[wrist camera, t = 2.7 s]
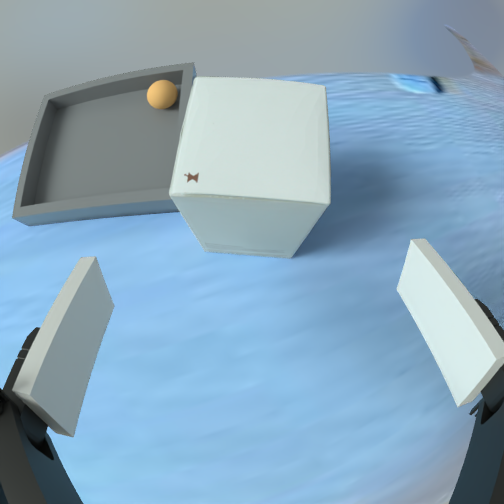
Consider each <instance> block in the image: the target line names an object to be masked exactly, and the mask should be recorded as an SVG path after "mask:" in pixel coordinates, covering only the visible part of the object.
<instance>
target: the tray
mask: <svg viewBox="0 0 504 504" xmlns="http://www.w3.org/2000/svg"><path fill="white" fill-rule="evenodd" d="M196 77H197V76H196V71H195V66H194V63H185V64H177V65H169V66H162V67H156V68H150V69H144V70H138V71H133V72H128V73H123V74H119V75H114V76H110V77H105V78H102V79H97V80H94V81H90V82H86V83H82V84H79V85H75V86H72V87H69V88H65V89H62V90H59V91H56V92H53V93H50V94H47V95H45V96H44V98H43V101H42V104H41V106H40V109H39V112H38V115H37V118H36V121H35V124H34V127H33V130H32V133H31V136H30V140H29V143H28V147H27V150H26V154H25V158H24V162H23V166H22V170H21V174H20V179H19V183H18V188H17V193H16V198H15V204H14V210H13V216H12V218H13V219H15V220H17V221H19V222H21V223H23V224H25V225H27V226H36V225H44V224H52V223H61V222H70V221H79V220H89V219H99V218H109V217H120V216H132V215H144V214H157V213H170V212H180V211H179V210H178V208H177V207H176V205H175V203H174V202H173V200H172V199H171V197H170V195H169V190H170V185H171V181H172V176H173V170H174V165H175V160H176V155H177V150H178V145H179V141H180V133H181V129H182V126H183V122H184V118H185V114H186V109H187V105H188V101H189V97H190V93H191V89H192V85H193V81H194V79H195V78H196ZM159 80H168V81H170V82H172V83H173V84H174V85H175V86H176V88H177V92H178V95H177V99H176V101H175V103H174V104H173V105H172V106H170V107H169V108H166V109H156V108H154V107H152V106H151V105H150V104H149V102H148V100H147V92H148V89H149V87H150V86H151V85H152V84H153V83H155V82H156V81H159Z"/></svg>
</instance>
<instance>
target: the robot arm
mask: <svg viewBox="0 0 504 504" xmlns="http://www.w3.org/2000/svg"><path fill="white" fill-rule="evenodd" d="M397 291H398V292H399V294H400V296H401V298H402V299H403V301H404V303H405V304H406V306H407V308H408V310H409V311H410V313H411V315H412V317H413V319H414V320H415V322H416V324H417V326H418V328H419V329H420V331H421V333H422V335H423V337H424V339H425V341H426V343H427V344H428V346H429V348H430V350H431V352H432V354H433V356H434V358H435V360H436V362H437V364H438V366H439V368H440V370H441V372H442V374H443V376H444V378H445V381H446V383H447V385H448V387H449V389H450V391H451V393H452V396H453V398H454V400H455V402H456V405H457V407H459V406H462V405H464V404H467V403H469V402H472V401H473V400H474V399H475V398H476V397H477V395H478V394H479V393H480V392H481V394H482V396H483V398H482V399H481V400H480V401H479V402H478V403H477V405H476V406H475V407H474V408H473V409H472V410H471V412H470V415H472V414H473V413H474V412H475V411H476V410H477V409H478V412H477V414H476V415H475V417H476V421H475V425H474V429H473V433H472V437H471V441H470V444H469V448H468V451H467V454H466V458H465V461H464V464H463V467H462V470H461V473H460V476H459V478H458V481H457V484H456V487H455V489H454V492H453V494H452V497H451V499H450V502H449V504H504V330H503V329H502V327H501V326H499V323H498V322H497V320H496V319H495V318H494V316H493V315H492V313H491V312H490V310H489V309H488V308H487V306H485V305H484V304H483V303H482V302H481V301H479V300H478V299H474V298H473V297H472V296H471V294H470V293H469V292H468V290H467V289H466V288H465V286H464V285H463V284H462V283H461V281H460V280H459V279H458V277H457V276H456V275H455V274H454V272H453V271H452V270H451V269H450V267H449V266H448V265H447V264H446V263H445V261H444V260H443V259H442V258H441V257H440V255H439V254H438V253H437V252H436V251H435V250H434V248H433V247H432V246H431V245H430V244H429V243H428V242H427V240H426V239H411V242H410V245H409V249H408V253H407V256H406V260H405V263H404V267H403V270H402V274H401V277H400V280H399V283H398V286H397ZM113 309H114V304H113V301H112V299H111V296H110V294H109V291H108V288H107V286H106V283H105V280H104V278H103V275H102V272H101V269H100V267H99V264H98V261H97V258H96V257H81V258H80V260H79V261H78V263H77V264H76V266H75V268H74V269H73V271H72V272H71V274H70V276H69V277H68V279H67V281H66V282H65V284H64V286H63V288H62V289H61V291H60V293H59V294H58V296H57V298H56V300H55V302H54V303H53V305H52V307H51V309H50V311H49V313H48V314H47V316H46V318H45V320H44V322H43V324H42V326H41V328H38V327H36V328H35V329H34V330H33V331H32V332H31V333H30V334H29V335H28V336H27V338H26V340H25V342H24V344H23V346H22V350H20V352H19V354H18V356H17V357H18V359H16V361H15V363H14V365H13V367H12V369H11V372H10V374H9V376H8V378H7V381H6V383H5V385H4V388H3V390H2V389H1V388H0V504H83V502H82V501H81V499H80V497H79V495H78V494H77V492H76V490H75V488H74V486H73V485H72V483H71V481H70V479H69V477H68V475H67V473H66V471H65V469H64V467H63V465H62V463H61V461H60V459H59V457H58V454H57V452H56V450H55V448H54V445H53V443H52V441H51V438H50V437H49V435H48V434H47V433H46V431H47V427H48V426H49V427H50V428H51V429H52V430H53V431H54V432H56V433H57V434H62V435H66V436H70V437H74V434H75V430H76V426H77V422H78V418H79V414H80V410H81V407H82V403H83V399H84V396H85V392H86V389H87V386H88V382H89V379H90V376H91V372H92V369H93V366H94V363H95V360H96V357H97V354H98V351H99V348H100V345H101V342H102V339H103V336H104V333H105V331H106V328H107V325H108V322H109V320H110V317H111V314H112V312H113Z"/></svg>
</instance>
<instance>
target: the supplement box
mask: <svg viewBox="0 0 504 504" xmlns="http://www.w3.org/2000/svg"><path fill="white" fill-rule="evenodd" d="M169 195H170V197H171V199H172V200H173V202H174V203H175V205H176V207H177V208H178V210H179V211H180V213H181V215H182V216H183V218H184V219H185V221H186V223H187V224H188V226H189V227H190V229H191V231H192V232H193V234H194V235H195V237H196V238H197V240H198V241H199V243H200V245H201V246H202V248H203V249H204V251H205V252H216V253H228V254H240V255H252V256H264V257H276V258H292V256H293V255H294V254H295V252H296V251H297V250H298V248H299V247H300V245H301V244H302V243H303V241H304V240H305V238H306V237H307V235H308V234H309V233H310V231H311V230H312V228H313V227H314V226H315V224H316V223H317V221H318V220H319V219H320V217H321V216H322V214H323V213H324V211H325V210H326V209H327V207H328V206H329V205H330V203H331V164H330V138H329V120H328V106H327V95H326V87H325V86H323V85H316V84H309V83H302V82H293V81H284V80H273V79H260V78H236V77H213V76H212V77H211V76H197V77H196V78H195V79H194V81H193V85H192V89H191V93H190V97H189V101H188V105H187V109H186V114H185V118H184V122H183V126H182V129H181V133H180V141H179V145H178V150H177V155H176V160H175V165H174V170H173V176H172V181H171V185H170V190H169Z"/></svg>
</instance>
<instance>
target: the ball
mask: <svg viewBox="0 0 504 504" xmlns="http://www.w3.org/2000/svg"><path fill="white" fill-rule="evenodd" d="M177 95H178V92H177V88H176V86H175V85H174V84H173V83H172V82H170V81H168V80H159V81H156V82H155V83H153V84H152V85H151V86H150V87H149V89H148V92H147V100H148V102H149V104H150V105H151V106H152V107H154V108H156V109H166V108H169V107H170V106H172V105H173V104H174V103H175V101H176V99H177Z"/></svg>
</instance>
